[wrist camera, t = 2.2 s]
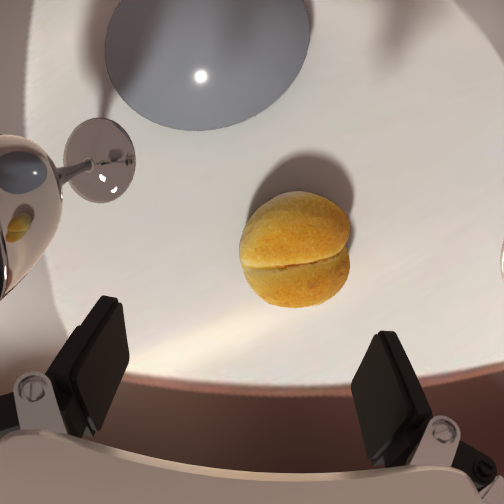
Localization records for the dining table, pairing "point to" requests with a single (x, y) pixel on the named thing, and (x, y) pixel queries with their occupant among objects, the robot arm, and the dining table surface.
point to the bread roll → (296, 250)
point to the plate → (205, 58)
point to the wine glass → (54, 189)
